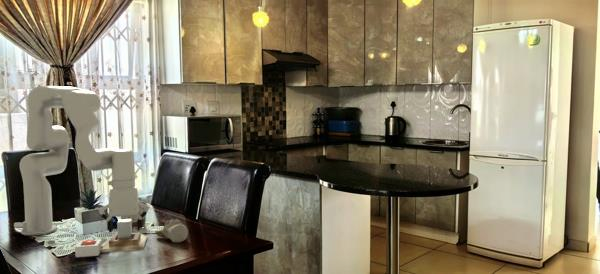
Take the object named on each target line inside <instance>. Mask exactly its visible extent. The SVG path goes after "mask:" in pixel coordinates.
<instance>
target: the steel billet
mask: <svg viewBox="0 0 600 274" xmlns="http://www.w3.org/2000/svg"><path fill="white" fill-rule="evenodd" d="M117 220H118V221H117V222H116V225H117V226H116V227H117V231H116V234H118V240H121V239H132V233H133V228H132V219H121V218H120V219H117Z"/></svg>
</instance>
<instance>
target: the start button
mask: <svg viewBox="0 0 600 274" xmlns="http://www.w3.org/2000/svg"><path fill="white" fill-rule="evenodd" d="M95 240H96V239H85V240H82V241H83V242H82V246H83V245H95Z"/></svg>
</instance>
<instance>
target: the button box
mask: <svg viewBox="0 0 600 274" xmlns="http://www.w3.org/2000/svg"><path fill="white" fill-rule="evenodd" d="M94 240H95V245H83V246H82V242H83V241H84V240H80V241H79V242H78V243H77V244H76V245H75V247H74V249H75V250H74V251H75V252H74V253H75V258H81V257H82V258H85V257H96V256H99V255H100V254H101V249H102V247H103V246H102V239H94Z"/></svg>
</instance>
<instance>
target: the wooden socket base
mask: <svg viewBox="0 0 600 274" xmlns="http://www.w3.org/2000/svg"><path fill="white" fill-rule="evenodd" d="M147 240H148V235H141V232H140V231H138V232H132V239H121V240H118V234H117V233H113V234H112V236H111V237H108V238H107V239H106V241H105V242H104V243H103V246H102V249H101V251H100V253H109V252H122V251H124V252H125V251H138V250H145V247H146V243H147Z"/></svg>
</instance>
